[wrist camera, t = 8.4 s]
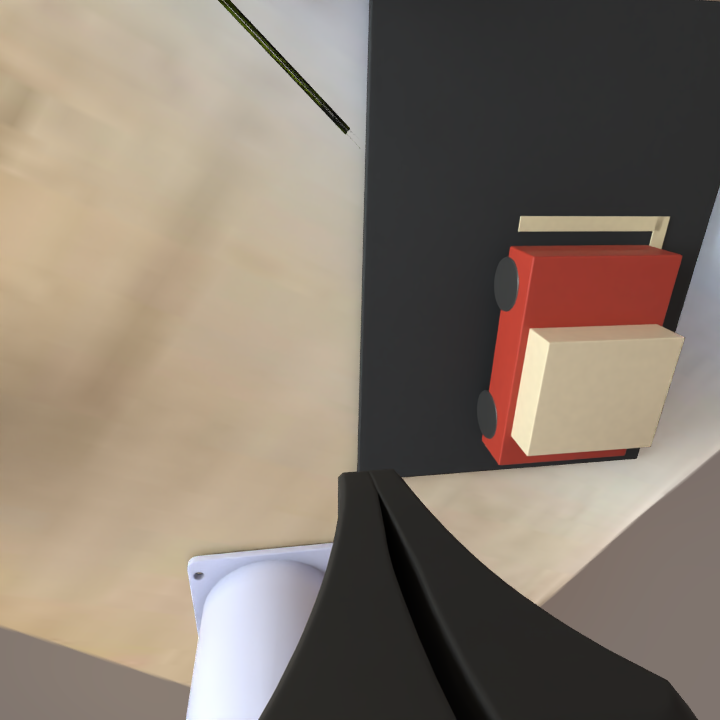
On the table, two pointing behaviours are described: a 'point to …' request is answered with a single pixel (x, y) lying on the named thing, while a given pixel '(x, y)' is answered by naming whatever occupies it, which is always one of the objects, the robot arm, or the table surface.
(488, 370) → the mat
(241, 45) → the table surface
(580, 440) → the toy car
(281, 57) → the toy tank
